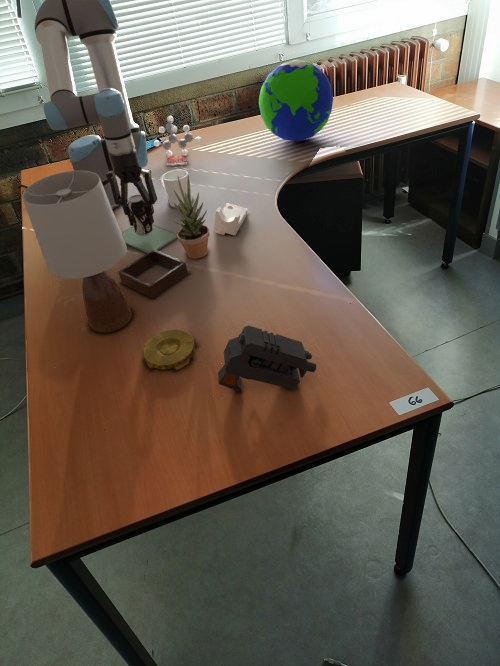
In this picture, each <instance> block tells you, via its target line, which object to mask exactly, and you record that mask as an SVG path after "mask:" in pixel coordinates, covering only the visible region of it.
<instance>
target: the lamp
mask: <svg viewBox="0 0 500 666" xmlns="http://www.w3.org/2000/svg"><path fill="white" fill-rule="evenodd" d="M22 200H23V203H24V206H25V209H26V212H27V214H28V218H29V220H30V223H31V225H32V228H33V231H34V234H35V237H36V240H37V242H38V245H39V248H40V251H41V254H42V257H43V259H44V262H45V265H46V268H47V270H48V272H49V273H50V274H51V275H53V276H54V277H57V278H59V279H67V280H77V279H82V286H81V287H82V289H81V290H82V291H81V292H82V299H83V304H84V310H85V314H86V318H87V321H88V325H89V327H90V329H91V330H92V331H94V332H96V333H101V334H102V333H103V334H106V333H112V332H116V331H119V330H120V329H122V328H124V327H125V326H126V325H128V323H130V321H131V319H132V310H131V307H130V305H129V303H128V300H127V299H126V297H125V295H124V293H123V292H122V290H121V288H120V286H119V285H118V284H117V282H116V280H115V279H114V278H113V277H112V276H111V275H110V274H109V273H108V272H107V271H108V270H110V269H111V268H113V267H114V266H116V265H117V264H118V263H120V261H122V260H123V258H124V257H125V255H126V253H127V244H125V241H124V239H123V236H122V233H123V232H122V231H121V229H120V226H119V223H118V220H117V218H116V215H115V212H114V209H113V210H112V208H111V205H110V203H109V200H108V198H107V195H106V192H105V190H104V187H103V185H102V182H101V180H100V177H99V176H98V175H97V174H96V173H93V172H90V171H82V170H77V171H74V170H68V171H63V172H58V173H54V174H51V175H47V176H45V177H42V178H40V179H38V180H36V181H34V182H33V183H32V184H30V185H29V186H28V188H25V190H24V191H23V192H22Z"/></svg>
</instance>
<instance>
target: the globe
mask: <svg viewBox="0 0 500 666" xmlns="http://www.w3.org/2000/svg"><path fill="white" fill-rule="evenodd" d="M333 95H334V94H333V88H332V85H331V82H330V80H329V78H328V77H327V75H326V74H325V73H324V72H323V70H321V68H319V67H318V66H316V65H314V64H313V63H312V62H310V61H308V60H301V59H294V60H293V59H292V60H288V61H287V60H286V61H285V62H283V63H280V64H279V65H278V66H276V68H274V69H273V70H272V71H271V72H269V73H268V75H267V77H266V78H265V79H264V82H263V83H262V86H261V88H260V92H259V96H258V107H259V111H260V116H261V117H260V118H261V119H262V121H263V123H264V125H265V127H266V129H268V131H269V132H271V133H272V134H273V135H274V136H276V137H278V138H279V139H282V140H284V141H289V142H302V141H305V140H307V139H310V138H313V137H315V136H316V135H317V134H318V133H319V132H321V131H322V130H323V129H324V127H325V126H326V125H327V123H328V121H329V119H330V116H331V114H332V111H333V104H334V96H333Z"/></svg>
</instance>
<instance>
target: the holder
mask: <svg viewBox="0 0 500 666" xmlns="http://www.w3.org/2000/svg"><path fill="white" fill-rule="evenodd" d="M155 264H159V265H161V266H164V267H166V268H168V269H170V270H169V271H167V273H165V274H163V275H162V276H160V277H159V278H157V279H156V280H154V281H152V283H147V282H145V281H143V280H141V279H139V278H137V276H138V275H140V274H141V273H143V272H144V271H146V270H147V269H149V268H151V267H152V266H154V265H155ZM117 273H118V277H119V279H120V282H121V284H123V285H124V286H126V287H128V288H130V289H133V290H134V291H136V292H138V293H140V294H142V295H145V296H147V297H149V298H151V300H152V299H155V298H156V297H157V296H159V295H161V294H162V293H164V292H165V291H167V289H169V288H171V287H172V286H173V285H175V284H177V283H178V282H179V281H180V280H183V279H184V278H185V277H187V276H188V275H189V271H188V266H187V263H186V262H185V261H183V260H181V259H178V258H176V257H173V256H171V255H169V254H166V253H163V252H162V251H159V250H152V251H150V252H149V253H145V254H144V255H142V256H140V257H139V258H137V259H136V260H134V261H132V262H131V263H129V264H128V265H127V266H125V267H123V268H122V269H120V270H118V271H117Z"/></svg>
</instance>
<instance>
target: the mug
mask: <svg viewBox="0 0 500 666" xmlns="http://www.w3.org/2000/svg"><path fill="white" fill-rule="evenodd" d="M188 175H189V173H188V171H187V170H186V169H180V168H179V169H178V168H177V169H171V170H168V171H166V172H165V173H164V174H161V175H160V176H159V181H160V184H161V187H162V189H163V191H164V193H165V194H166V195H167V199H168V203H169V206H170V207H171V208H175V209H177V208H176V206H175V205H174V203H175V204H176V205H177V206H178V205H179V204H180V203H179V201H178V199H177V197H176V195H175V193H174V190H175V192H176V193H177V195H178V196H179V198H180V199H181V200H182V202H183V203H184V201H183V197H182V194H181V190H180V187H179V182H178V176H179V180H180V183H181V186H182V190H183V193H184V196H185V193H186V194H187V182H188ZM190 192H191V193H192V190H191V189H190ZM191 201H192V202H193V197H192V196H191ZM179 207H180V206H179Z"/></svg>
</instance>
